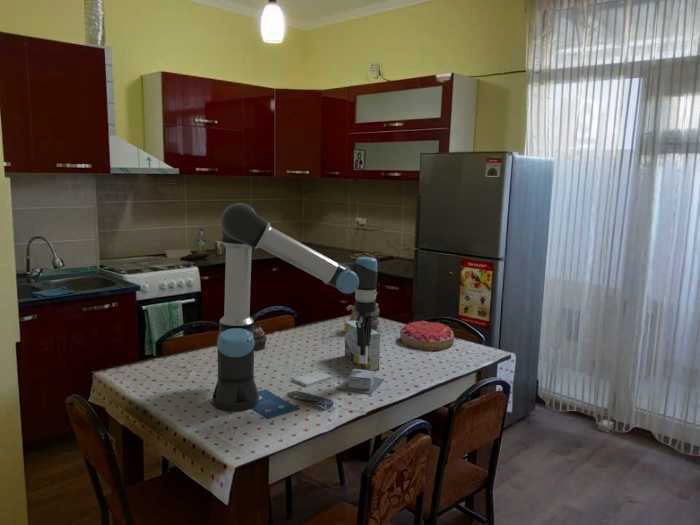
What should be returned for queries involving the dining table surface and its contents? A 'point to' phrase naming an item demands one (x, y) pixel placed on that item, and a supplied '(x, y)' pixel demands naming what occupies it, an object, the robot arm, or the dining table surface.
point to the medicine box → (361, 379)
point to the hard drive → (311, 378)
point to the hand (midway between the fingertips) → (363, 362)
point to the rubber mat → (345, 387)
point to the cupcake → (259, 338)
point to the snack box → (353, 349)
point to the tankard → (374, 314)
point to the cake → (427, 335)
